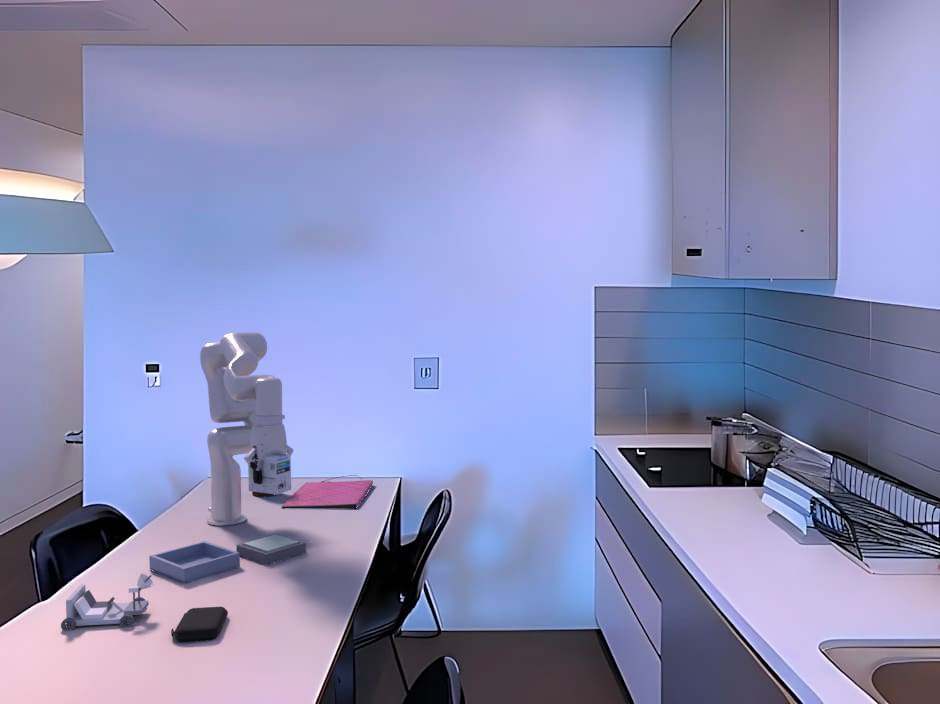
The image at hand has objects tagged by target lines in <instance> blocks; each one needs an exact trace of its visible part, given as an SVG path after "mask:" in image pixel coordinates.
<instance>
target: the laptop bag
mask: <svg viewBox="0 0 940 704" xmlns="http://www.w3.org/2000/svg"><path fill="white" fill-rule="evenodd" d="M351 476H354V477H355V476H356V477H359V478H360V476H359V475H357V474H352V475H351V474H350V475H348V477H351ZM343 477H345V478H346V475H343V476H341V478H343ZM339 478H340V476H337V477H333V478H330V479H329V478H328V479H326V480H323V481H317V482H315V481H314V482H312V481H310V482H308V481H307V482H305V483H304V484H303V485H302V486H301V487H300V488H298V489H297V490H296V491H295V492H294V493H293V494H292V495H291V496H290V497H289V498H288V499H287V500H286V501H285V502H284V503H283V504H282V505H281V509H285V508H356V507H357V506H358V505H359V504H360V502H361V501H362V499H363V498H364V497H365V495H366V494H367V492H368V490H369V489H370V487H371V486H372V484H373V485H374V481H373V479H372V480H369V479H367V480H363V479H362V478H360V479H361V480H351V481H348V480H347V481H330V480H333V479H339ZM372 487H373V486H372ZM370 490H371V489H370ZM368 493H369V492H368ZM367 495H368V494H367ZM367 495H366V496H367ZM365 498H366V497H365ZM365 498H364V499H365ZM362 502H363V501H362ZM362 502H361V503H362ZM360 505H361V504H360ZM360 505H359V506H360Z"/></svg>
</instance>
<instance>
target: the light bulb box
mask: <svg viewBox="0 0 940 704" xmlns="http://www.w3.org/2000/svg"><path fill="white" fill-rule="evenodd" d="M254 457H256V455H255V456H253V459H255V458H254ZM291 457H292V455H291V454H278V455H272V456H267V457H266V459H265V461H263V464H262V466H261V468H260V470H262V484H256V483H254V480H253V470H252V469H251V467H250V466H249V465H248V464H247V467H248V471H247V472H248V474H247V475H248V492H252V491H254V492H261V493H269V494H276V495H280V494H283V493H285V492H289V491H291V490H292V462H291V461H292V459H291ZM257 459H258V456H257ZM252 461H254V460H252ZM257 464H258V461H257Z"/></svg>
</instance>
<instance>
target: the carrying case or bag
mask: <svg viewBox="0 0 940 704" xmlns="http://www.w3.org/2000/svg"><path fill="white" fill-rule="evenodd" d="M228 614H229V611H228V610H227V609H226V607H223V606H210V607H207V606H205V607H193V608H190V609H188V610H187V611H186V612H184V614H183V616H182V618H181V619H180V621H179V623H178V624H177V626H176V628H175V630H174V628H171V630H170V634H171V635H170V636H171V637H172V638H174V639H175V640H176V641H177V642H179V643H191V642H192V643H193V642H208V641H209V642H210V641H211V642H212V641H214V640H216V639H217V638H218V636H219V635H220V634H221V632H222V629H223V627H224V624H225V622H226V620H227V618H228Z"/></svg>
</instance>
